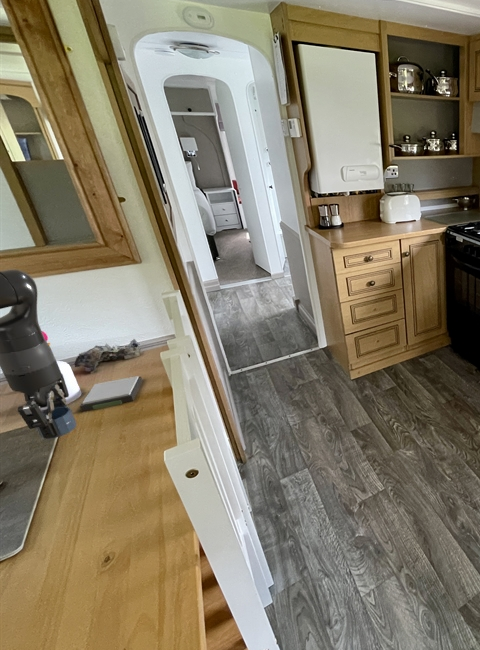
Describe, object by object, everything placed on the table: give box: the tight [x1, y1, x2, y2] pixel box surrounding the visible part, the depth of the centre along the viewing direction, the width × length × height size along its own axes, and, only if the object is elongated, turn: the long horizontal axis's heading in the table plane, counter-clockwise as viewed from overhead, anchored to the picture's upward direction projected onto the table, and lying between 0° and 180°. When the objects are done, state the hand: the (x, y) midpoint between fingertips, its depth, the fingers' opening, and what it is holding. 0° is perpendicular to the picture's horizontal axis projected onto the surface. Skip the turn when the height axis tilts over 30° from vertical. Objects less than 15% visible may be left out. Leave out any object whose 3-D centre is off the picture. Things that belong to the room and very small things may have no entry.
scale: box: [79, 375, 144, 412], centre depth 109 cm, size 11×11×3 cm
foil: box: [73, 338, 141, 374], centre depth 125 cm, size 12×11×15 cm
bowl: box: [36, 406, 77, 440], centre depth 85 cm, size 6×6×4 cm
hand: (58, 427), depth 86 cm, fingers closed on bowl, 6 cm apart
